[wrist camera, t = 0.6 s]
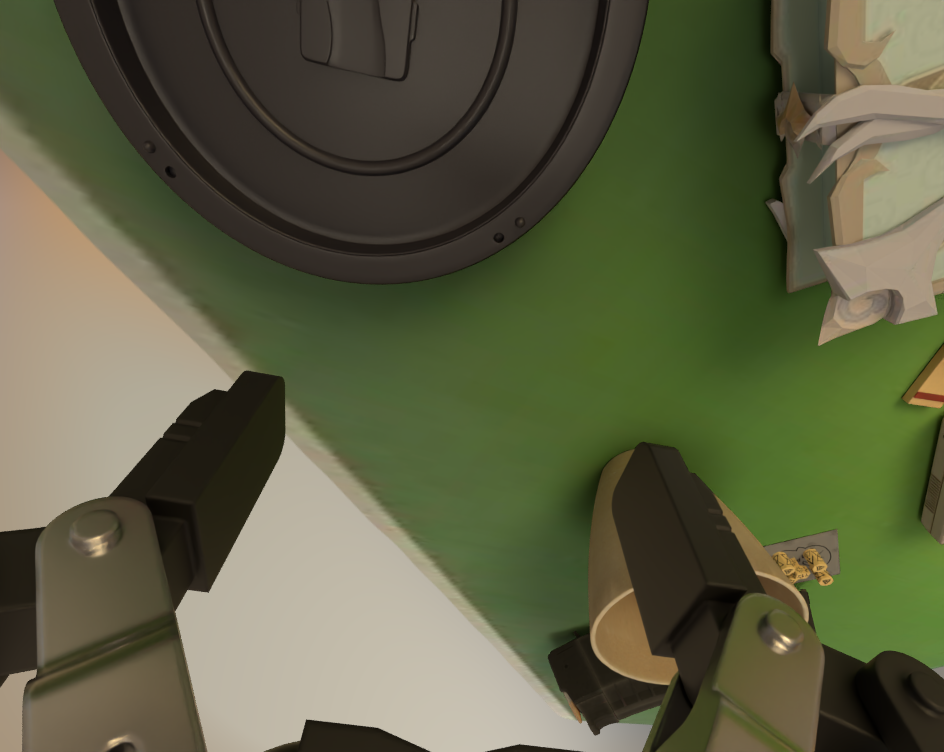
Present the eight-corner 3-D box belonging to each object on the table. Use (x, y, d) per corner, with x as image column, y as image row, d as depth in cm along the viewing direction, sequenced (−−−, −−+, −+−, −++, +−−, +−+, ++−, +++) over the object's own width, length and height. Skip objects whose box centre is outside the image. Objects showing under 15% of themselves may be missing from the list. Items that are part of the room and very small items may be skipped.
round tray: (716, -331, 22) (24, -505, 20) (786, -455, 17) (-134, -705, 15) (553, 287, 38) (157, 223, 36) (564, 319, 32) (103, 247, 31)
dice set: (771, 553, 53) (780, 568, 52) (820, 541, 52) (831, 556, 51) (775, 580, 56) (784, 595, 54) (823, 569, 55) (833, 584, 53)
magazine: (877, 655, 46) (603, 804, 46) (878, 671, 48) (612, 815, 48) (747, 531, 61) (541, 643, 61) (751, 546, 63) (549, 656, 63)
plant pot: (546, 437, 45) (572, 590, 32) (710, 399, 43) (814, 549, 29) (577, 539, 53) (608, 698, 39) (718, 512, 50) (804, 673, 37)
